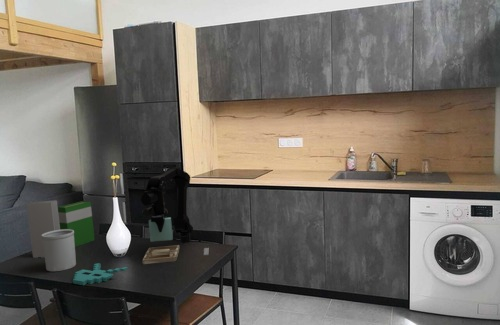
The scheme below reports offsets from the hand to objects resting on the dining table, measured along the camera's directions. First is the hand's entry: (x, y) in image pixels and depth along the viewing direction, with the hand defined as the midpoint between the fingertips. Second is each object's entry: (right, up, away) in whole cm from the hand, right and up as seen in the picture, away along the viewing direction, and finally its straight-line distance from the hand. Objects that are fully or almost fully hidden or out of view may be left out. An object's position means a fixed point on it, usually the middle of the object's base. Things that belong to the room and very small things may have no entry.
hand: (160, 231), depth 216 cm
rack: (+1, -13, -3) cm, 13 cm away
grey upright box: (-65, -16, +15) cm, 69 cm away
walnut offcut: (+1, -11, -9) cm, 14 cm away
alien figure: (-25, -18, -23) cm, 38 cm away
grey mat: (+18, -12, +2) cm, 21 cm away
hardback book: (-57, -14, +36) cm, 69 cm away
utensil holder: (-49, -17, -5) cm, 52 cm away
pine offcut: (+2, -10, -9) cm, 13 cm away
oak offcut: (+2, -13, -8) cm, 15 cm away
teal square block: (0, -5, 0) cm, 4 cm away
